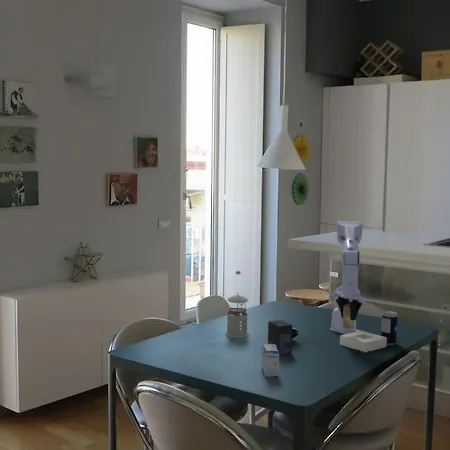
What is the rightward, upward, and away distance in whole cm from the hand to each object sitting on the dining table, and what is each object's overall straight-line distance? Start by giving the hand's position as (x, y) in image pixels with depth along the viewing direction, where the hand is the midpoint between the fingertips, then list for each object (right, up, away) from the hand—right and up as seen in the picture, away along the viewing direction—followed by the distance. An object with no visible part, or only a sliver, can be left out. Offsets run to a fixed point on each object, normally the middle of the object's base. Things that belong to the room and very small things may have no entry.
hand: (348, 318), depth 259 cm
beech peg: (0, -3, 0) cm, 3 cm away
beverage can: (+16, -10, +3) cm, 19 cm away
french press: (-41, -8, +15) cm, 44 cm away
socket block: (+5, -10, 0) cm, 11 cm away
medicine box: (-31, -14, -32) cm, 47 cm away
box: (-26, -11, -8) cm, 30 cm away
